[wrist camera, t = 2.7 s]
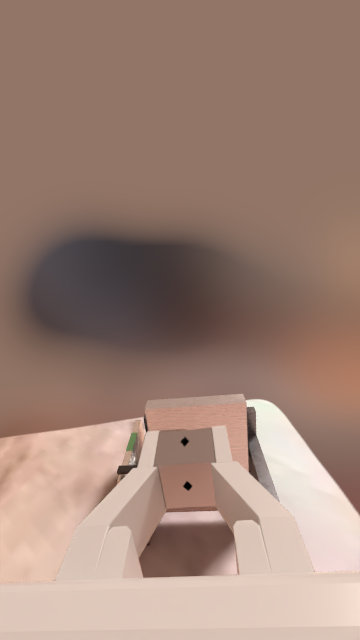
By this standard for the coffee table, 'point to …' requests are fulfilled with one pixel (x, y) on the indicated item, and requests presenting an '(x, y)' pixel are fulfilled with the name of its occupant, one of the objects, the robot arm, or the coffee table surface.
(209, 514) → the coffee table surface
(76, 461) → the coffee table surface
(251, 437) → the gauge housing
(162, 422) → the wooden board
